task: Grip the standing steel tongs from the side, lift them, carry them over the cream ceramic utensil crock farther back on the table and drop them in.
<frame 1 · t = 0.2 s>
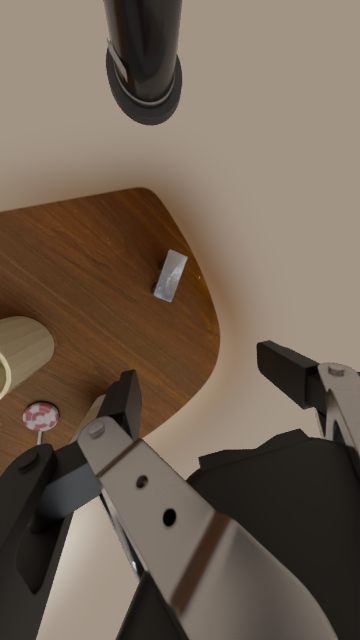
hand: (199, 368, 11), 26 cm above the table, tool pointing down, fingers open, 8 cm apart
tongs: (162, 278, 35), on the table
lollipop: (42, 430, 38), on the table
crock: (22, 344, 34), on the table
coffee cup: (109, 406, 39), on the table
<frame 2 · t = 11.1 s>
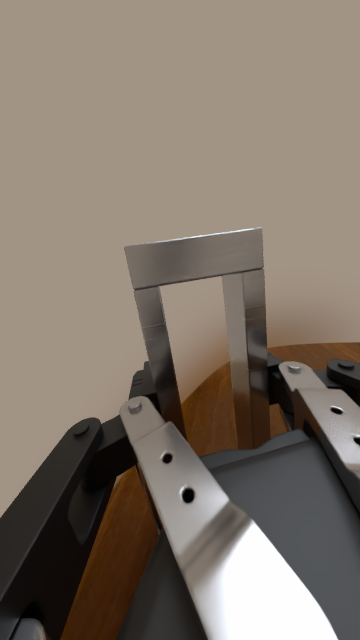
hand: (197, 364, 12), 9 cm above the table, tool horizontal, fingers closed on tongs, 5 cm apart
tongs: (224, 502, 11), on the table, touching gripper
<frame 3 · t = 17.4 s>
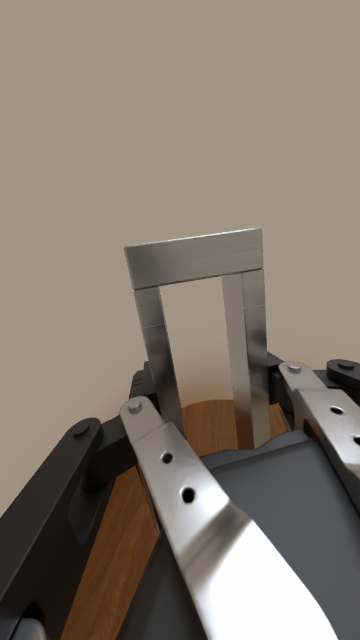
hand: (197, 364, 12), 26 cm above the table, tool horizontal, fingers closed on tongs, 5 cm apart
tongs: (224, 502, 11), point 17 cm above the table, touching gripper
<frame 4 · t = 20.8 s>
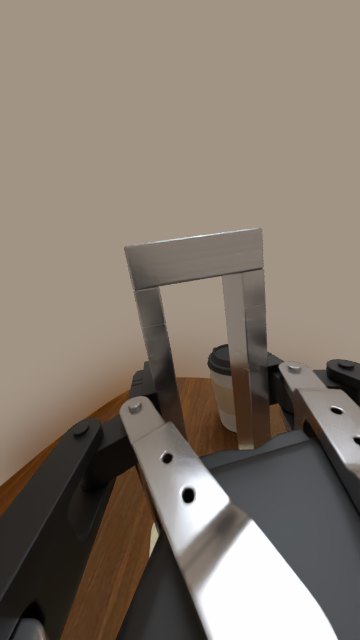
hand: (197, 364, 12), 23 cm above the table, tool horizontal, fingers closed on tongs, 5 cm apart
tongs: (224, 502, 11), point 14 cm above the table, touching gripper
coffee cup: (237, 418, 35), on the table
when the fingers open (14 cm above the table, at t = 23.8 s): tongs drops 4 cm, resting on crock.
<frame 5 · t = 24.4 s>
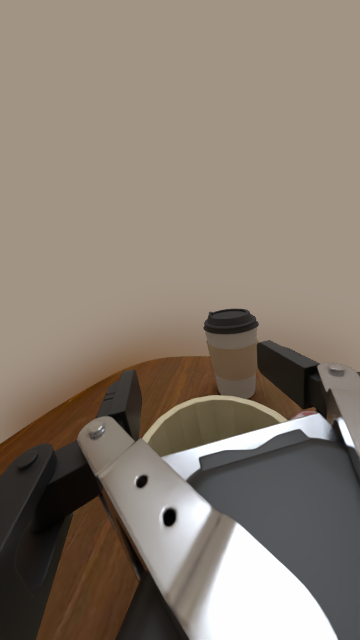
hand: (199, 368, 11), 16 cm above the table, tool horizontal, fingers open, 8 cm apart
tongs: (234, 563, 13), point 1 cm above the table, tilted 17°, touching crock
crock: (235, 570, 13), on the table
coffee cup: (236, 388, 33), on the table
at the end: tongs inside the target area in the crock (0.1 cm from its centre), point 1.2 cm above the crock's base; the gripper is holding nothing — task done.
